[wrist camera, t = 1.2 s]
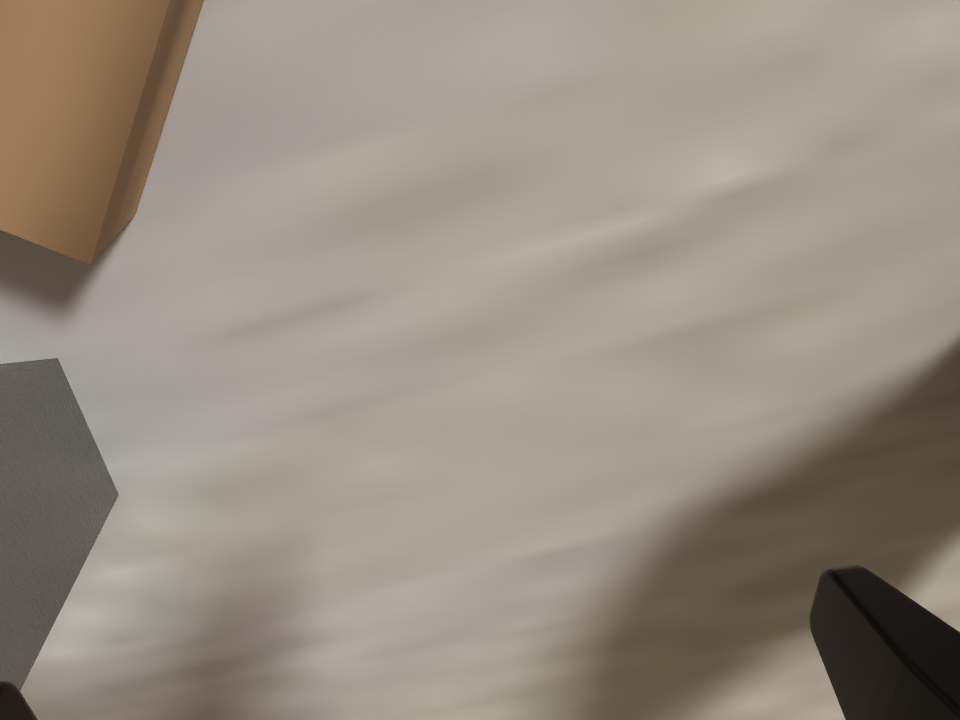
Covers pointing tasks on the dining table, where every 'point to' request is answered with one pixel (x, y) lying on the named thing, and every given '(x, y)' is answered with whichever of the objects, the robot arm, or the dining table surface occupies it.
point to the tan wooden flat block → (84, 113)
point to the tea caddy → (43, 506)
